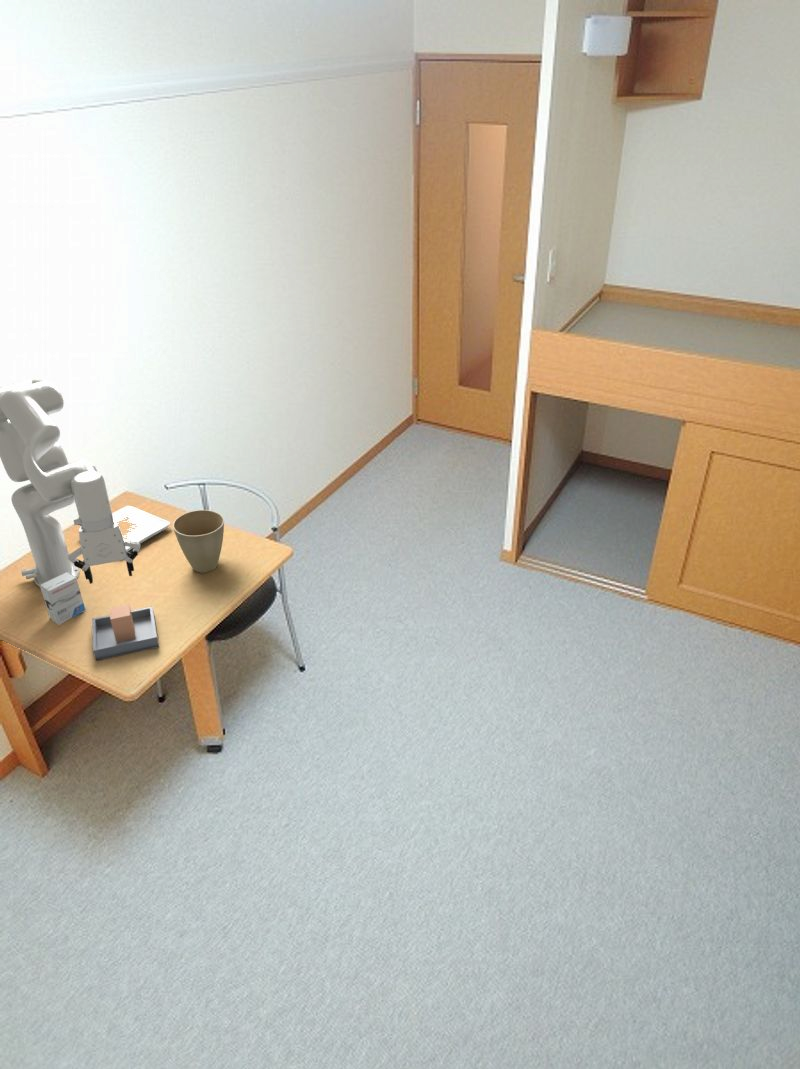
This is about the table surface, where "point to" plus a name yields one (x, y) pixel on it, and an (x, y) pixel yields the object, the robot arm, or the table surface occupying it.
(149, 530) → the salad plate
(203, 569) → the plant pot
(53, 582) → the ink box
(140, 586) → the table surface
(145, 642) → the tray
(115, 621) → the terracotta block
